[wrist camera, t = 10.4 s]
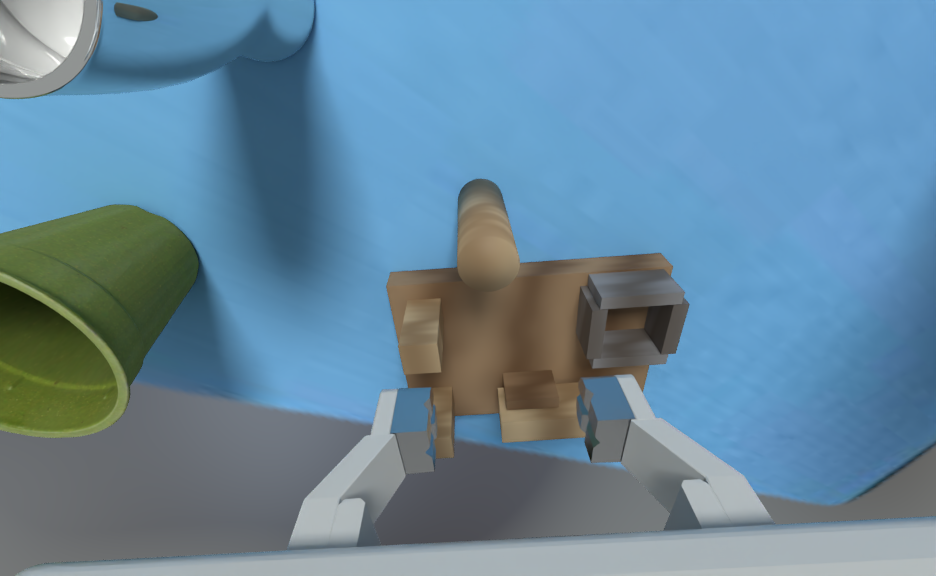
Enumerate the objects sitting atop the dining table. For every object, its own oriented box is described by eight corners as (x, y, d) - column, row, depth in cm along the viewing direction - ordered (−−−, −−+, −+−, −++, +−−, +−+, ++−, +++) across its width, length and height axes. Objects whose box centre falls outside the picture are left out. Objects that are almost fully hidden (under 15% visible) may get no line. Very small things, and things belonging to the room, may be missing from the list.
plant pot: (23, 243, 27) (-211, 350, 18) (101, 129, 23) (-144, 188, 14) (181, 342, 32) (66, 467, 23) (268, 261, 28) (172, 371, 19)
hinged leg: (637, 375, 32) (658, 416, 28) (631, 400, 34) (651, 442, 30) (497, 385, 32) (501, 426, 29) (498, 409, 34) (503, 451, 30)
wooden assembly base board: (660, 253, 29) (712, 308, 23) (631, 387, 36) (664, 455, 30) (390, 272, 29) (372, 331, 23) (417, 400, 37) (408, 470, 31)
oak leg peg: (501, 177, 25) (519, 234, 18) (503, 220, 27) (519, 289, 19) (456, 180, 26) (454, 239, 18) (460, 223, 27) (460, 293, 19)
